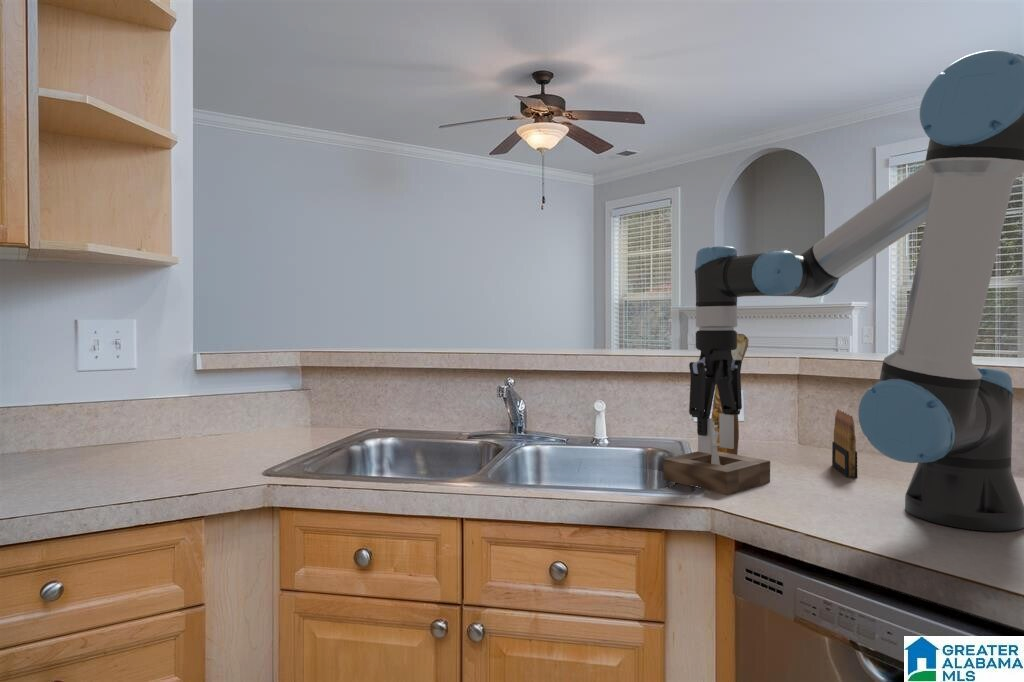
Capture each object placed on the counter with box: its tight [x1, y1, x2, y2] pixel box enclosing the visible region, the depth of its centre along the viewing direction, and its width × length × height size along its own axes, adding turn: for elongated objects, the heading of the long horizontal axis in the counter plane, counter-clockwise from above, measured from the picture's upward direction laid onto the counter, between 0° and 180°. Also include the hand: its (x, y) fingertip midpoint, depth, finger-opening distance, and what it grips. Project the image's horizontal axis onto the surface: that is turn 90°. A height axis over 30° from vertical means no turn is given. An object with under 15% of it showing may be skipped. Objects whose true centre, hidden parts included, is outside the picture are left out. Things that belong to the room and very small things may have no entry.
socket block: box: [662, 450, 771, 496], centre depth 120 cm, size 14×14×4 cm
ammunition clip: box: [831, 409, 858, 479], centre depth 126 cm, size 11×2×12 cm, turn 167°
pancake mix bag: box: [711, 333, 749, 455], centre depth 144 cm, size 7×19×28 cm, turn 170°
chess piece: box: [711, 422, 722, 466], centre depth 120 cm, size 5×5×10 cm
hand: (716, 449), depth 120 cm, fingers open, 6 cm apart
